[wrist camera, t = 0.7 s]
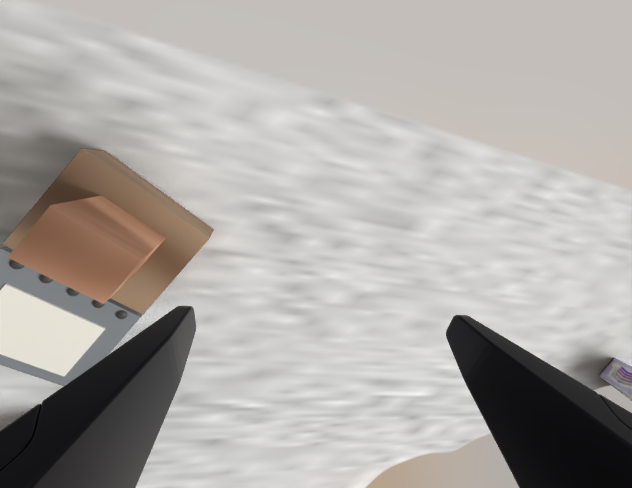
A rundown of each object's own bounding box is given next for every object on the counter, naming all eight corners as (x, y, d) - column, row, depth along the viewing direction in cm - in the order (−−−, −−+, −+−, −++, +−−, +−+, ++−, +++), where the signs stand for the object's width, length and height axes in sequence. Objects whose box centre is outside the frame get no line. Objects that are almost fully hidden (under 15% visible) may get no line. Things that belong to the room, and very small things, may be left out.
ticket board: (96, 364, 19) (75, 391, 17) (-30, 315, 16) (-77, 340, 14) (153, 299, 19) (139, 318, 17) (36, 237, 16) (-1, 249, 14)
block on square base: (155, 296, 19) (114, 356, 13) (37, 233, 16) (-89, 272, 10) (213, 229, 19) (199, 258, 13) (105, 151, 15) (18, 140, 10)
